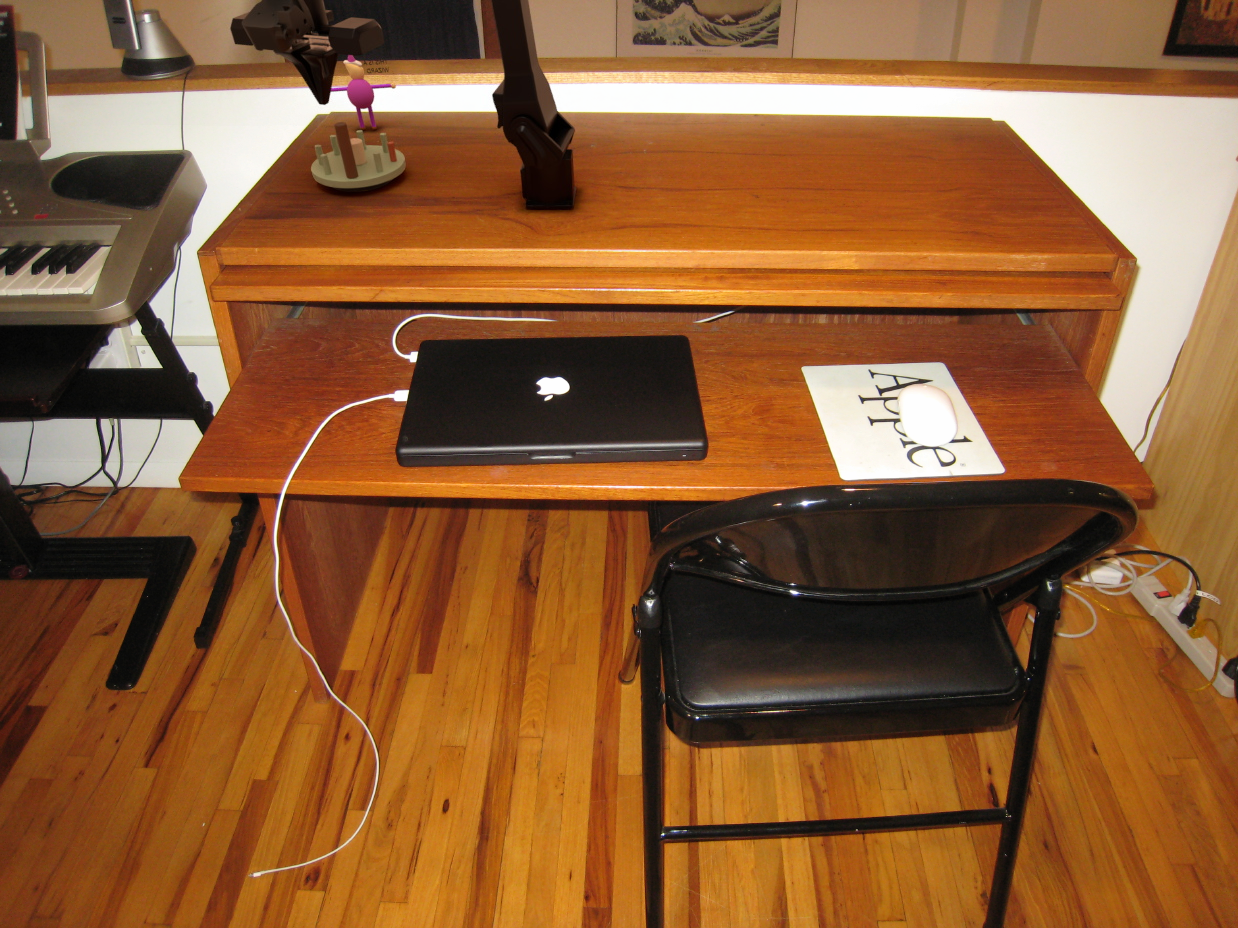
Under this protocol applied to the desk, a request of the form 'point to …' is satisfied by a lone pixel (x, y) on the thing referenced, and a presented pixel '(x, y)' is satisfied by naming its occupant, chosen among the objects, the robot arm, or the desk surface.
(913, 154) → the desk surface
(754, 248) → the desk surface
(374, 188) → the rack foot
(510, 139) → the robot arm
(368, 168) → the pegged crank wheel
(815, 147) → the desk surface
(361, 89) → the wizard figurine
